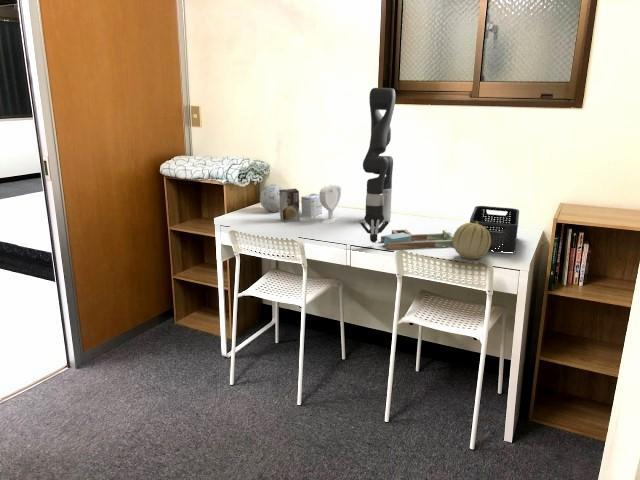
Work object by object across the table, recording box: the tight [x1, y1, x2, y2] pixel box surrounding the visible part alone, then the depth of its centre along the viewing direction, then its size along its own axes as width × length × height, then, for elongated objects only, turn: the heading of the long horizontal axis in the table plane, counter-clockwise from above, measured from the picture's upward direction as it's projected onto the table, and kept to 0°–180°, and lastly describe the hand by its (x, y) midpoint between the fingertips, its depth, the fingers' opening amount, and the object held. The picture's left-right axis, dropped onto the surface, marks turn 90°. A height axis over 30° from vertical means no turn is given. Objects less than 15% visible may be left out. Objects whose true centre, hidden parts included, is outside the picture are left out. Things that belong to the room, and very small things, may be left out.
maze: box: [380, 229, 454, 251], centre depth 227 cm, size 21×30×4 cm
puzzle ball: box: [259, 184, 284, 213], centre depth 280 cm, size 15×15×15 cm
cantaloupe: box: [452, 221, 491, 260], centre depth 203 cm, size 15×15×15 cm
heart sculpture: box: [319, 184, 342, 224], centre depth 260 cm, size 16×5×18 cm, turn 147°
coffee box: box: [279, 188, 301, 223], centre depth 261 cm, size 9×6×16 cm
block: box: [383, 233, 412, 247], centre depth 222 cm, size 6×10×4 cm, turn 118°
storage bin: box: [469, 205, 520, 253], centre depth 223 cm, size 29×19×13 cm
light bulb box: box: [300, 193, 323, 218], centre depth 273 cm, size 11×7×11 cm, turn 144°
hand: (373, 242), depth 220 cm, fingers closed
